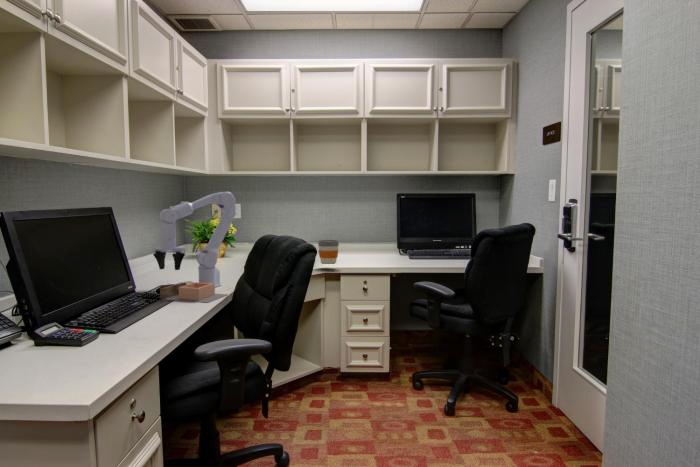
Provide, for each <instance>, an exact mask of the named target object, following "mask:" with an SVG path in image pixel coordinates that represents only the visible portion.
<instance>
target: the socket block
mask: <svg viewBox="0 0 700 467" xmlns="http://www.w3.org/2000/svg"><path fill="white" fill-rule="evenodd" d="M215 288H216V287H215V284H214V283H199V282H194V283H192V284H188V285H185V286H182V287H179V299H189V300H201V299H204V298H206V297H209V296H212V295H214V294H216V292H215V290H216V289H215Z"/></svg>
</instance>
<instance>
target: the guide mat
mask: <svg viewBox="0 0 700 467" xmlns="http://www.w3.org/2000/svg"><path fill="white" fill-rule="evenodd" d="M228 295H229V294H228V293H227V294H226V293H215V294H214V295H212V296H209V297H206V298H204V299H201V300H189V299H179V294H178V295H175V296H172V297H169V298H166V299H163V300H166V301H176V302H177V301H178V302H179V301H180V302H190V303H191V302H192V303H202V304H203V303H204V304H205V303H206V304H209V303H211V302H214V301H217V300H218V299H221V298H224V297H226V296H228Z"/></svg>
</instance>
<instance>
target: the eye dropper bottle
mask: <svg viewBox="0 0 700 467" xmlns="http://www.w3.org/2000/svg"><path fill="white" fill-rule="evenodd" d="M183 283H186V285H188V284H192V283H195V282H194V281H192V280H185V281H184V282H183Z"/></svg>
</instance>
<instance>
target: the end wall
mask: <svg viewBox="0 0 700 467" xmlns="http://www.w3.org/2000/svg"><path fill="white" fill-rule="evenodd" d="M185 285H186V283H184V282H183V281H182V282H178V283H175V284H171V285H168V286H164V287H161V288H159V294H160V295H159V296H160V297H159V298H161V299H160V300H164V299H166V298H169V297H172V296H175V295H178V294H179V287H182V286H185Z"/></svg>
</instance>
